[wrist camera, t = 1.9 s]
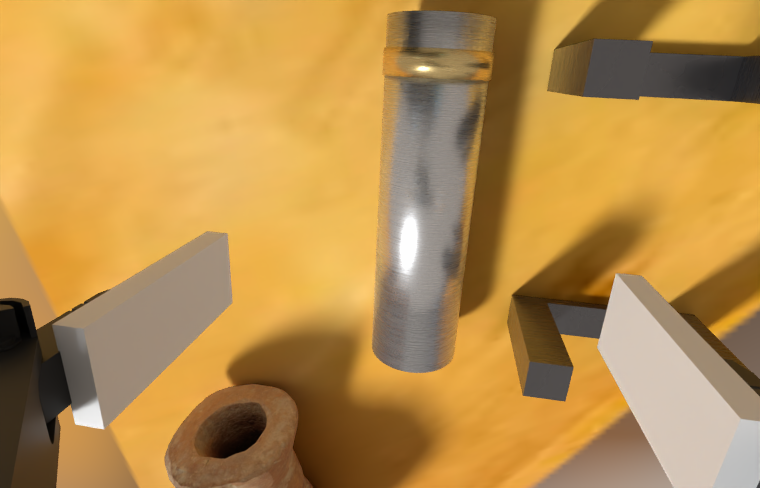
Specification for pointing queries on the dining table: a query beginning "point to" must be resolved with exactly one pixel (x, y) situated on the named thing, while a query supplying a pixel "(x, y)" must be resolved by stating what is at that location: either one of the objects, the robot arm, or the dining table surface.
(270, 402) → the pipe
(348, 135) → the dining table surface
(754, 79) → the collar near
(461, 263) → the tube
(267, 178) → the dining table surface
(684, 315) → the collar far
